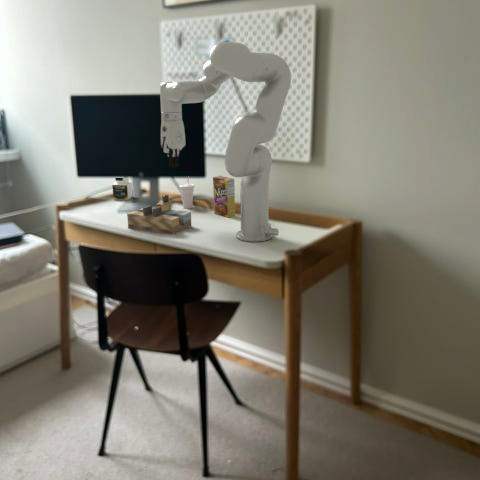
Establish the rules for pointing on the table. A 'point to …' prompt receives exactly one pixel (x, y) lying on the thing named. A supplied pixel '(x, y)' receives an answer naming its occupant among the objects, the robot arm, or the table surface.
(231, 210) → the candy box
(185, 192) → the smoothie
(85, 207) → the table surface
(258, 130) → the robot arm
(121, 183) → the medicine bottle
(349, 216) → the table surface
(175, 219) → the lock frame
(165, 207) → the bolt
